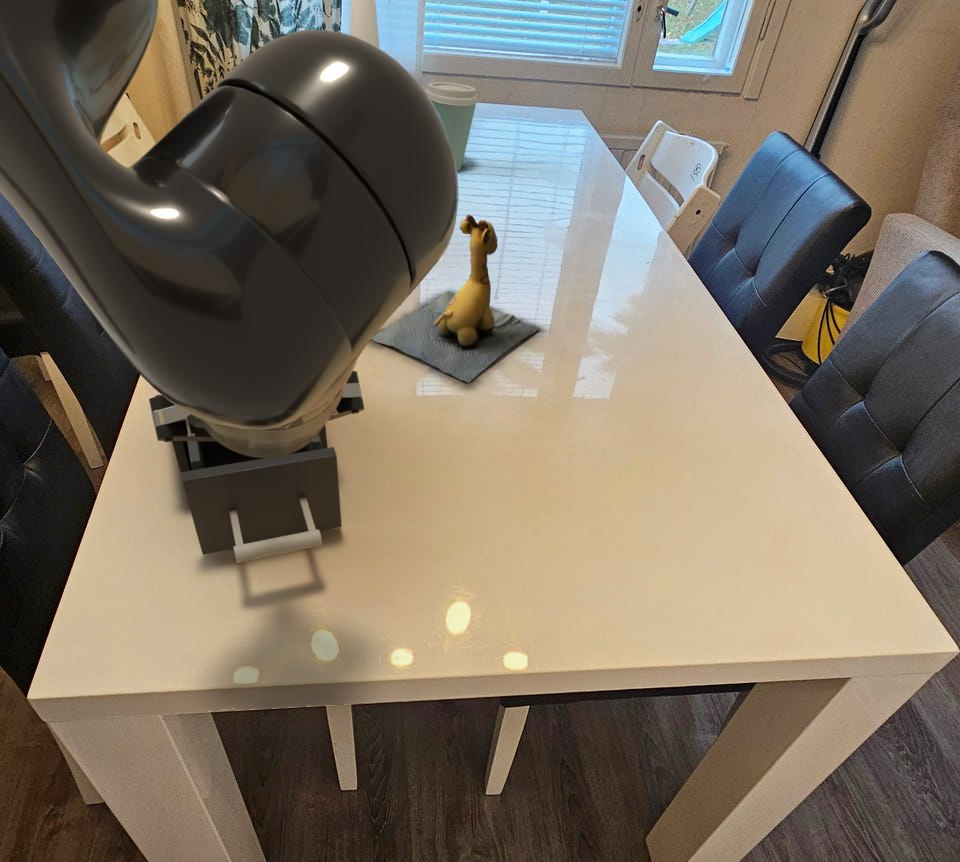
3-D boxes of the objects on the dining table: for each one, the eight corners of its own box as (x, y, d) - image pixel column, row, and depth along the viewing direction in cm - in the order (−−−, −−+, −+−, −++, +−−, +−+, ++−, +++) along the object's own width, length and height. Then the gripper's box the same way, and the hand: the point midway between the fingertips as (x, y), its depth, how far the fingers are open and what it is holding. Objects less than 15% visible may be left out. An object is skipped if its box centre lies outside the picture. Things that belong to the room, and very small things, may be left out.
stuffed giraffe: (540, 329, 99) (553, 214, 88) (468, 387, 88) (471, 264, 77) (448, 295, 105) (449, 184, 94) (370, 345, 94) (360, 227, 83)
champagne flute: (349, 124, 160) (344, -6, 143) (354, 116, 164) (349, -11, 148) (378, 127, 160) (377, -3, 143) (382, 119, 165) (381, -8, 148)
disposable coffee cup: (418, 157, 147) (420, 75, 137) (469, 159, 149) (474, 78, 139) (424, 175, 140) (427, 89, 130) (477, 177, 142) (484, 93, 132)
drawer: (356, 570, 63) (352, 498, 57) (209, 603, 59) (188, 529, 53) (310, 436, 77) (303, 365, 70) (187, 455, 73) (168, 382, 66)
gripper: (380, 286, 37) (338, 364, 53) (102, 312, 33) (150, 388, 49) (408, 427, 37) (358, 461, 53) (136, 471, 33) (172, 494, 49)
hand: (258, 426), depth 51 cm, fingers closed
